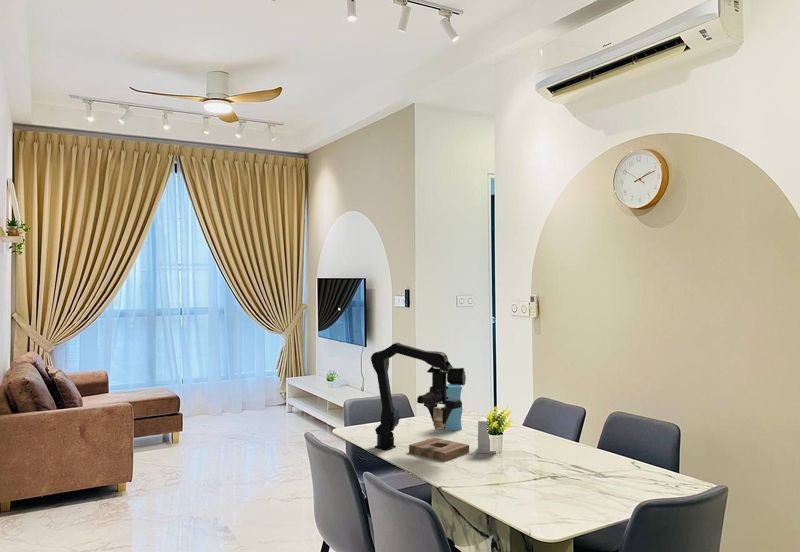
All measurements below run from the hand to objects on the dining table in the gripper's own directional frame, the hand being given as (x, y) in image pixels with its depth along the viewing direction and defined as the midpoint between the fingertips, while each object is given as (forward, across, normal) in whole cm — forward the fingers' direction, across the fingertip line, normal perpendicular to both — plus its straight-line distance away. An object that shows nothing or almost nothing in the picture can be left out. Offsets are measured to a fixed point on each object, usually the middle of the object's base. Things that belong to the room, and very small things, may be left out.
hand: (439, 423), depth 242 cm
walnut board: (+12, 0, 0) cm, 12 cm away
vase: (+12, -20, +37) cm, 44 cm away
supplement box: (+12, +13, +15) cm, 23 cm away
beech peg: (+2, 0, 0) cm, 2 cm away
